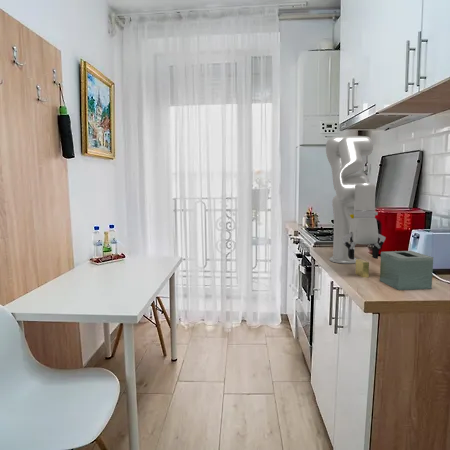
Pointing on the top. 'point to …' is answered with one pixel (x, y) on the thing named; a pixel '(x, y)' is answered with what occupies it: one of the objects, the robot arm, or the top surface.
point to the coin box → (406, 270)
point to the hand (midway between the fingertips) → (363, 258)
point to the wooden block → (362, 268)
